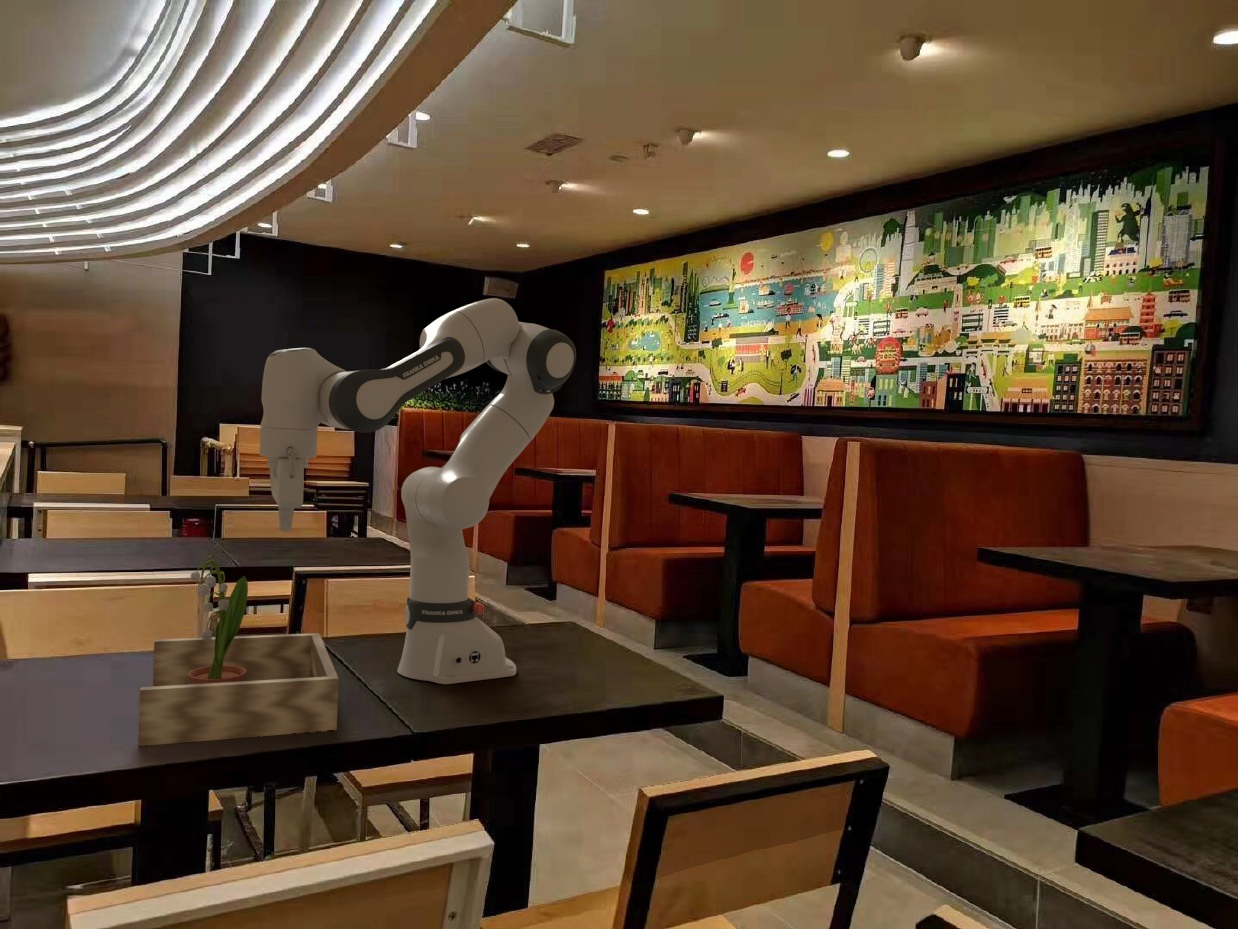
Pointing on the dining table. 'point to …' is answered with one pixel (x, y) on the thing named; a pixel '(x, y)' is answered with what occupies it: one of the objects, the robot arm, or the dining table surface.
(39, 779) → the dining table surface
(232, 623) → the potted flower
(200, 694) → the open wooden planter box
